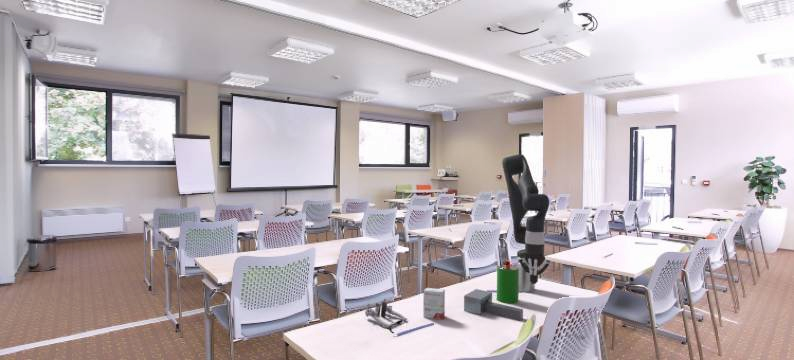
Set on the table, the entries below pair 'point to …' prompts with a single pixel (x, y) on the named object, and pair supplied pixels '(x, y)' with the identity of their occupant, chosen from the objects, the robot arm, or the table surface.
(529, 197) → the robot arm
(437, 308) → the ink box
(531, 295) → the table surface
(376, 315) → the bike brake
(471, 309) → the housing
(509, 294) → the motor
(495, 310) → the plug rod
